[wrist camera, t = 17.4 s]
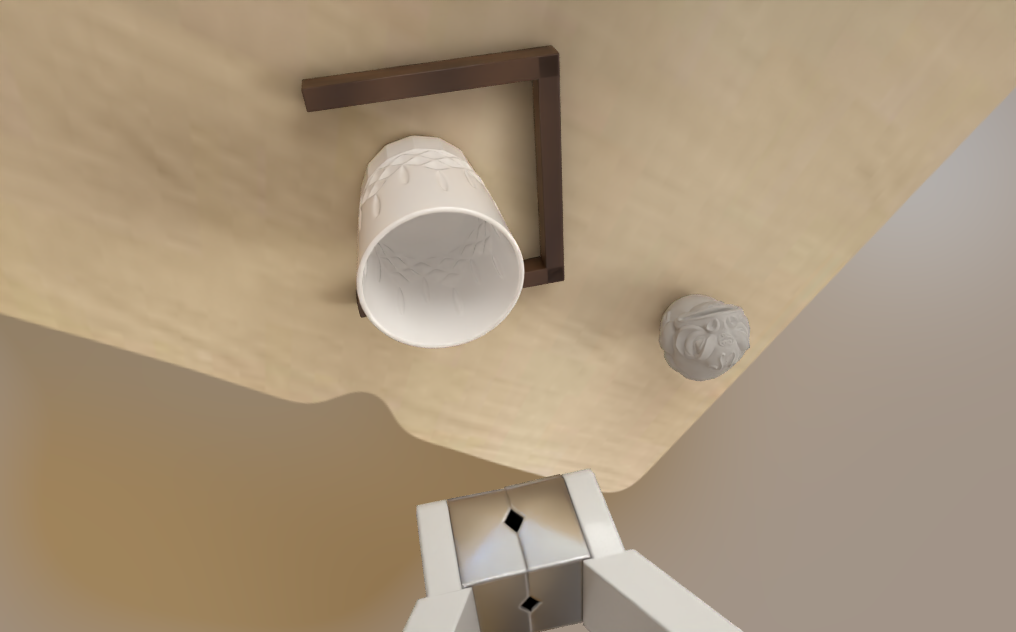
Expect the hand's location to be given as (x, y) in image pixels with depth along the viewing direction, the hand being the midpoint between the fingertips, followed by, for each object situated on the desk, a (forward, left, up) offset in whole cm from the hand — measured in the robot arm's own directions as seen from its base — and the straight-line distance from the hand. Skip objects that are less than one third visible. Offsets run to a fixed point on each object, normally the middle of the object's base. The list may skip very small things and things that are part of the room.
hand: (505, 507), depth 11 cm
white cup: (+7, -4, -29) cm, 30 cm away
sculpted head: (+27, +5, -29) cm, 40 cm away
